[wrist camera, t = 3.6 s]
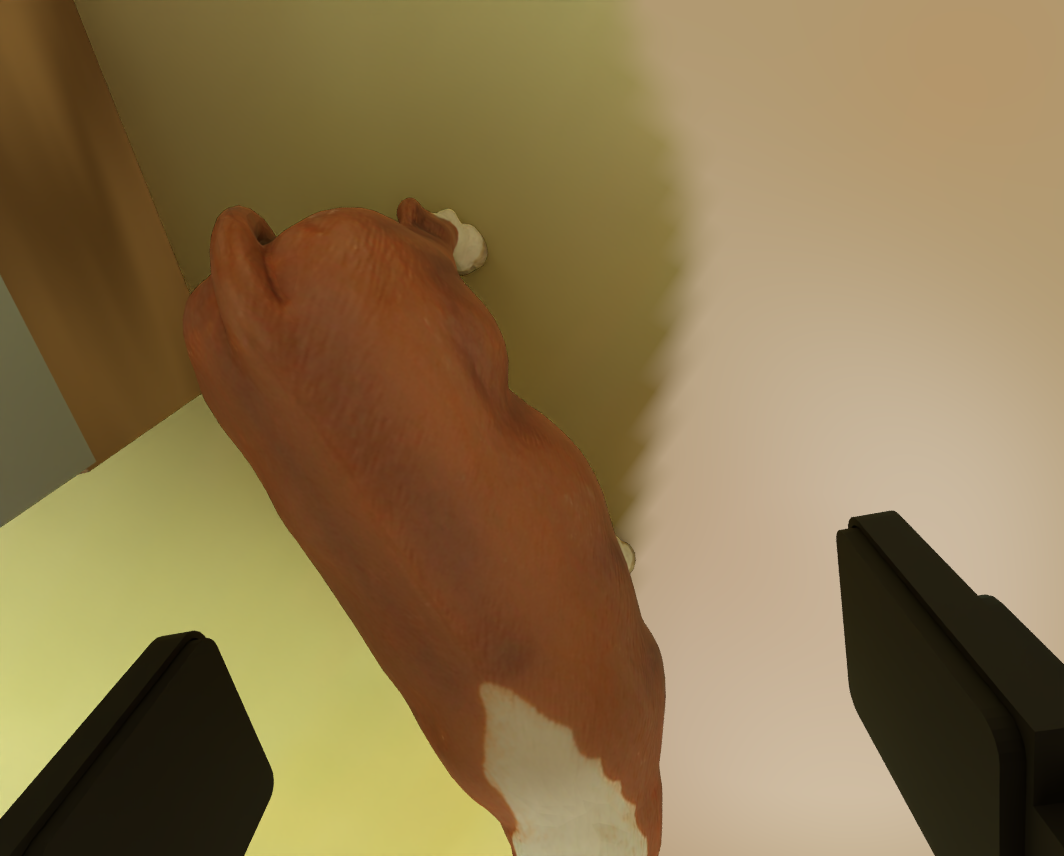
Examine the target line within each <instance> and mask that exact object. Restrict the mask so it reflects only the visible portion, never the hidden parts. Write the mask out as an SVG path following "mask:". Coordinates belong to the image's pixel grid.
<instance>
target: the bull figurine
mask: <svg viewBox="0 0 1064 856" xmlns="http://www.w3.org/2000/svg"><path fill="white" fill-rule="evenodd" d="M397 217H398V221H399V223H398V222H397V221H395V220H393V219H391V218H389V217H387V216H385V215H382V214H380V213H378V212H376V211H373V210H369V209H364V208H335V209H330V210H325V211H320V212H317V213H315V214H312V215H310V216H309V217H307V218H305V219H303V220H301V221H300V222H298V223H296V224H294V225H293V226H291V227H289V228H288V229H286V230H285V231H283V232H282V233H281V234H280V235H279V236H278V237H276V236H275V234H274V233H273V231H272V230H271V228H270V227H269V226H268V224H267V223H266V222H265V220H264V219H263V218H262V217H260V216H259V215H258V214H257V213H255V212H254V211H253V210H251V209H249V208H246V207H243V206H240V205H238V206H234V207H230V208H227V209H226V210H224V211H223V212H222V213H221V214H220V215H219V217H218V218H217V220H216V223H215V226H214V228H213V232H212V235H211V242H210V266H211V275H210V276H209V277H208V278H207V279H205V280H204V281H202V282H201V283H200V284H199V285H198V286H197V287H196V288H195V290H194V291H193V292H192V293H191V295H190V296H189V298H188V300H187V302H186V306H185V310H184V315H183V319H182V320H183V336H184V340H185V344H186V348H187V352H188V356H189V358H190V361H191V364H192V366H193V369H194V371H195V374H196V378H197V381H198V384H199V387H200V390H201V393H202V395H203V398H204V400H205V402H206V403H207V405H208V406H209V408H210V410H211V411H212V413H213V414H214V416H215V418H216V419H217V421H218V422H219V424H220V426H221V427H222V428H223V430H224V431H225V432H226V434H227V435H228V436H229V438H230V439H231V440H232V441H233V443H234V444H235V445H236V446H237V447H238V449H239V450H240V451H241V452H242V454H243V455H244V457H245V458H246V459H247V461H248V462H249V463H250V465H251V466H252V468H253V470H254V471H255V473H256V475H257V476H258V478H259V480H260V481H261V483H262V484H263V486H264V488H265V489H266V491H267V493H268V495H269V497H270V499H271V501H272V503H273V505H274V507H275V509H276V511H277V513H278V515H279V516H280V518H281V520H282V521H283V523H284V524H285V526H286V527H287V529H288V530H289V532H290V533H291V534H292V535H293V537H294V538H295V539H296V540H297V542H298V543H299V545H300V546H301V548H302V549H303V551H304V552H305V553H306V555H307V556H308V558H309V559H310V560H311V562H312V563H313V565H314V566H315V567H316V569H317V570H318V572H319V573H320V574H321V576H322V577H323V579H324V580H325V582H326V583H327V585H328V586H329V588H330V589H331V591H332V592H333V594H334V595H335V597H336V598H337V600H338V601H339V603H340V604H341V606H342V607H343V609H344V610H345V612H346V613H347V615H348V616H349V618H350V619H351V621H352V622H353V624H354V625H355V627H356V628H357V630H358V632H359V633H360V635H361V636H362V638H363V640H364V641H365V643H366V644H367V646H368V647H369V649H370V651H371V652H372V654H373V655H374V657H375V659H376V660H377V662H378V663H379V665H380V666H381V668H382V669H383V671H384V672H385V673H386V675H387V676H388V677H389V679H390V680H391V681H392V682H393V684H394V685H395V686H396V688H397V689H398V690H399V691H400V693H401V694H402V696H403V697H404V699H405V701H406V702H407V704H408V705H409V707H410V709H411V711H412V713H413V715H414V717H415V719H416V720H417V722H418V724H419V726H420V728H421V730H422V731H423V733H424V735H425V736H426V738H427V740H428V741H429V743H430V745H431V746H432V748H433V750H434V751H435V753H436V754H437V756H438V757H439V759H440V760H441V762H442V763H443V765H444V766H445V768H446V769H447V771H448V772H449V774H450V775H451V777H452V778H453V779H454V780H455V781H456V782H457V783H458V785H459V786H460V787H461V788H462V789H463V790H464V791H465V792H466V793H467V794H468V795H469V796H470V797H471V798H472V799H473V800H475V801H476V802H477V803H478V804H480V805H481V806H483V807H484V808H485V809H487V810H488V811H489V812H490V813H491V814H492V815H494V816H495V817H496V818H497V819H498V821H499V822H500V823H501V825H502V828H503V830H504V832H505V834H506V837H507V839H508V841H509V843H510V845H511V848H512V854H513V856H658V854H659V851H660V847H661V836H662V783H661V777H660V769H659V761H660V753H661V744H662V733H663V721H664V711H665V698H666V694H665V693H666V692H665V674H664V668H663V661H662V656H661V653H660V650H659V647H658V645H657V643H656V641H655V639H654V637H653V635H652V633H651V632H650V631H649V629H648V627H647V626H646V624H645V623H644V621H643V619H642V617H641V613H640V609H639V605H638V602H637V598H636V594H635V590H634V586H633V583H632V579H631V576H630V573H631V572H632V571H633V569H634V565H635V561H636V559H635V552H634V550H633V549H632V547H631V546H630V545H629V544H628V543H626V542H622V541H620V539H619V538H618V537H617V536H616V535H615V533H614V529H613V526H612V523H611V519H610V516H609V512H608V509H607V505H606V502H605V498H604V494H603V492H602V490H601V488H600V485H599V483H598V481H597V478H596V476H595V474H594V473H593V471H592V469H591V467H590V465H589V464H588V462H587V460H586V459H585V457H584V456H583V454H582V453H581V451H580V450H579V449H578V448H577V447H576V445H575V444H574V443H573V442H572V441H571V440H570V439H569V438H568V437H567V436H566V435H565V434H564V433H563V432H562V431H561V430H560V429H559V428H558V427H557V426H556V425H555V424H553V423H552V422H551V421H550V420H549V419H548V418H547V417H545V416H544V415H543V414H541V413H540V412H538V411H537V410H535V409H534V408H532V407H531V406H529V405H528V404H527V403H525V402H524V401H523V400H522V399H520V398H519V397H518V396H517V395H515V394H514V393H513V392H512V391H510V389H509V387H508V355H507V350H506V345H505V342H504V339H503V337H502V334H501V332H500V330H499V328H498V325H497V323H496V321H495V319H494V318H493V316H492V315H491V313H490V312H489V311H488V309H487V308H486V307H485V305H484V304H483V303H482V302H481V301H480V300H479V299H478V298H477V296H476V295H475V294H474V293H473V292H472V291H471V290H470V289H469V288H468V287H467V286H466V284H465V283H464V282H463V280H462V279H461V277H460V276H459V274H461V275H465V274H469V273H471V272H472V271H474V270H475V269H478V268H480V267H481V266H482V265H484V263H485V261H486V258H487V252H488V251H487V246H486V243H485V241H484V238H483V237H482V235H481V234H480V233H479V231H478V230H477V229H476V228H475V227H474V226H472V225H470V224H461V222H460V221H459V219H458V217H457V215H456V213H455V212H454V211H453V210H451V209H449V208H447V209H444V210H441V211H439V212H438V213H430V212H429V211H427V210H425V209H424V208H423V207H422V206H421V205H420V204H419V202H418V201H416V200H415V199H414V198H407V199H404V200H402V201H401V203H400V204H399V206H398V209H397Z"/></svg>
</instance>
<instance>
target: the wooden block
mask: <svg viewBox="0 0 1064 856" xmlns="http://www.w3.org/2000/svg"><path fill="white" fill-rule="evenodd" d="M0 275H1V277H2V279H3V281H4V283H5V285H6V287H7V289H8V291H9V293H10V295H11V297H12V299H13V300H14V302H15V304H16V306H17V308H18V310H19V312H20V314H21V316H22V318H23V320H24V322H25V324H26V326H27V328H28V330H29V332H30V334H31V335H32V337H33V339H34V341H35V343H36V345H37V347H38V349H39V351H40V353H41V355H42V357H43V359H44V361H45V363H46V365H47V367H48V369H49V370H50V372H51V374H52V376H53V378H54V380H55V382H56V384H57V386H58V388H59V390H60V392H61V394H62V396H63V398H64V400H65V402H66V404H67V405H68V407H69V409H70V411H71V413H72V415H73V417H74V419H75V421H76V423H77V425H78V427H79V429H80V431H81V433H82V435H83V437H84V439H85V440H86V442H87V444H88V446H89V448H90V450H91V452H92V454H93V456H94V458H95V460H96V462H95V463H94V464H92V465H91V466H89V467H88V468H87V469H85V470H84V471H82V472H81V473H79V474H82V473H86V472H89V471H91V470H92V469H94V468H95V467H97V466H98V465H99V464H101V463H102V462H104V461H105V460H107V459H108V458H110V457H111V456H112V455H114V454H115V453H117V452H118V451H120V450H121V449H122V448H124V447H125V446H127V445H128V444H130V443H131V442H133V441H134V440H135V439H137V438H138V437H140V436H141V435H143V434H144V433H145V432H147V431H148V430H150V429H151V428H153V427H154V426H155V425H157V424H158V423H160V422H161V421H163V420H164V419H166V418H167V417H168V416H170V415H171V414H173V413H174V412H176V411H177V410H178V409H180V408H181V407H183V406H184V405H186V404H187V403H189V402H190V401H191V400H193V399H194V398H196V397H197V396H199V395H200V394H201V390H200V387H199V384H198V381H197V378H196V374H195V371H194V369H193V366H192V364H191V361H190V358H189V356H188V352H187V348H186V344H185V340H184V336H183V320H182V319H183V315H184V310H185V306H186V302H187V300H188V298H189V296H190V293H189V291H188V288H187V286H186V283H185V281H184V278H183V276H182V273H181V271H180V268H179V266H178V263H177V261H176V258H175V256H174V253H173V250H172V248H171V245H170V243H169V240H168V238H167V235H166V233H165V230H164V228H163V225H162V223H161V220H160V218H159V215H158V213H157V210H156V208H155V205H154V203H153V200H152V198H151V195H150V193H149V190H148V187H147V185H146V182H145V180H144V177H143V175H142V172H141V170H140V167H139V165H138V162H137V160H136V157H135V155H134V152H133V150H132V147H131V145H130V142H129V140H128V137H127V135H126V132H125V130H124V127H123V124H122V122H121V119H120V117H119V114H118V112H117V109H116V107H115V104H114V102H113V99H112V97H111V94H110V92H109V89H108V87H107V84H106V82H105V79H104V77H103V74H102V72H101V69H100V67H99V64H98V61H97V59H96V56H95V54H94V51H93V49H92V46H91V44H90V41H89V39H88V36H87V34H86V31H85V29H84V26H83V24H82V21H81V19H80V16H79V14H78V11H77V9H76V6H75V4H74V1H73V0H0Z"/></svg>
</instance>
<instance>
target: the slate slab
mask: <svg viewBox="0 0 1064 856" xmlns="http://www.w3.org/2000/svg"><path fill="white" fill-rule="evenodd" d="M95 462H96V460H95V458H94V456H93V454H92V452H91V450H90V448H89V446H88V444H87V442H86V440H85V439H84V437H83V435H82V433H81V431H80V429H79V427H78V425H77V423H76V421H75V419H74V417H73V415H72V413H71V411H70V409H69V407H68V405H67V404H66V402H65V400H64V398H63V396H62V394H61V392H60V390H59V388H58V386H57V384H56V382H55V380H54V378H53V376H52V374H51V372H50V370H49V369H48V367H47V365H46V363H45V361H44V359H43V357H42V355H41V353H40V351H39V349H38V347H37V345H36V343H35V341H34V339H33V337H32V335H31V334H30V332H29V330H28V328H27V326H26V324H25V322H24V320H23V318H22V316H21V314H20V312H19V310H18V308H17V306H16V304H15V302H14V300H13V299H12V297H11V295H10V293H9V291H8V289H7V287H6V285H5V283H4V281H3V279H2V277H1V275H0V528H1V527H2V526H3V525H5V524H6V523H8V522H9V521H11V520H12V519H14V518H15V517H17V516H18V515H19V514H21V513H22V512H24V511H25V510H27V509H28V508H30V507H31V506H33V505H34V504H35V503H37V502H38V501H40V500H41V499H43V498H44V497H46V496H47V495H49V494H50V493H52V492H53V491H54V490H56V489H57V488H59V487H60V486H62V485H63V484H65V483H66V482H68V481H69V480H70V479H72V478H73V477H75V476H76V475H78V474H79V473H81V472H82V471H84V470H85V469H87V468H88V467H89V466H91V465H92V464H94V463H95Z"/></svg>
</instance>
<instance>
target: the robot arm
mask: <svg viewBox="0 0 1064 856" xmlns="http://www.w3.org/2000/svg"><path fill="white" fill-rule="evenodd" d="M836 539H837V540H836V542H837V552H838V565H839V576H840V588H841V599H842V611H843V623H844V634H845V645H846V658H847V669H848V681H849V688H850V693H851V697H852V700H853V703H854V706H855V709H856V711H857V713H858V715H859V717H860V719H861V720H862V722H863V724H864V726H865V728H866V730H867V731H868V733H869V735H870V737H871V739H872V741H873V743H874V744H875V746H876V748H877V750H878V752H879V753H880V755H881V757H882V759H883V761H884V762H885V765H886V767H887V768H888V770H889V772H890V774H891V776H892V778H893V779H894V781H895V783H896V785H897V787H898V789H899V790H900V792H901V794H902V796H903V798H904V800H905V802H906V803H907V805H908V807H909V809H910V811H911V812H912V814H913V816H914V818H915V820H916V822H917V824H918V825H919V827H920V829H921V831H922V833H923V834H924V837H925V838H926V840H927V842H928V844H929V846H930V847H931V849H932V851H933V853H934V855H935V856H1064V664H1063V663H1062V662H1061V661H1060V660H1059V659H1058V658H1057V657H1056V656H1055V655H1054V654H1053V653H1052V652H1051V651H1050V650H1049V649H1048V648H1047V647H1046V646H1045V645H1044V644H1043V643H1042V642H1041V641H1040V640H1039V639H1038V638H1037V637H1036V636H1035V635H1034V634H1033V633H1032V632H1031V631H1030V630H1029V629H1028V628H1027V627H1026V626H1025V625H1024V624H1023V623H1022V622H1020V620H1019V619H1018V618H1017V617H1016V616H1015V615H1014V614H1013V613H1012V612H1011V611H1010V610H1009V609H1007V607H1006V606H1005V605H1003V604H1002V603H1001V602H1000V601H999V600H997V599H996V598H995V597H993V596H989V595H979V596H978V595H977V594H976V593H975V592H974V591H973V590H972V589H971V588H970V587H969V586H968V585H967V584H966V583H965V582H964V581H963V580H962V579H961V578H960V577H959V576H958V575H957V574H956V573H955V572H954V570H952V569H951V567H950V566H949V565H948V564H947V563H946V562H945V561H944V560H943V559H942V558H941V557H940V556H939V555H938V554H937V553H936V552H935V551H934V550H933V549H932V548H931V547H930V546H929V545H928V544H927V543H926V542H925V541H924V540H923V539H922V538H921V537H920V535H919V534H917V533H916V531H915V530H914V529H913V528H912V527H911V526H910V525H909V524H908V523H907V522H906V521H905V520H904V519H903V518H902V517H901V516H900V515H899V514H898V513H897V512H895V511H886V512H881V513H875V514H869V515H863V516H857V517H851V519H850V520H849V524H848V529H844V530H839V531H838V532H837V536H836ZM273 785H274V778H273V772H272V769H271V766H270V764H269V762H268V760H267V757H266V755H265V753H264V751H263V748H262V746H261V744H260V742H259V739H258V737H257V735H256V733H255V730H254V728H253V726H252V724H251V721H250V719H249V717H248V714H247V712H246V710H245V708H244V705H243V703H242V701H241V699H240V696H239V694H238V692H237V690H236V687H235V685H234V683H233V681H232V678H231V676H230V674H229V672H228V669H227V667H226V665H225V663H224V660H223V658H222V656H221V654H220V651H219V649H218V647H217V645H216V643H215V642H214V641H213V640H212V639H209V638H205V636H204V635H203V634H202V633H200V632H198V631H189V632H184V633H178V634H172V635H166V636H161V637H158V638H156V639H155V640H154V641H153V642H152V643H151V644H150V645H149V646H148V647H147V648H146V650H145V651H144V652H143V653H142V654H141V655H140V657H139V658H138V659H137V660H136V661H135V662H134V664H133V665H132V666H131V667H130V668H129V669H128V671H127V672H126V673H125V674H124V675H123V676H122V678H121V679H120V680H119V681H118V682H117V683H116V685H115V686H114V687H113V688H112V689H111V690H110V692H109V693H108V694H107V695H106V696H105V697H104V699H103V700H102V701H101V702H100V703H99V704H98V706H97V707H96V708H95V709H94V710H93V711H92V713H91V714H90V715H89V716H88V717H87V718H86V720H85V721H84V722H83V723H82V724H81V725H80V727H79V728H78V729H77V730H76V731H75V732H74V734H73V735H72V736H71V737H70V738H69V739H68V741H67V742H66V743H65V744H64V745H63V746H62V748H61V749H60V750H59V751H58V752H57V753H56V755H55V756H54V757H53V758H52V759H51V760H50V762H49V763H48V764H47V765H46V766H45V767H44V769H43V770H42V771H41V772H40V773H39V774H38V776H37V777H36V778H35V779H34V780H33V781H32V783H31V784H30V785H29V786H28V787H27V788H26V790H25V791H24V792H23V793H22V794H21V795H20V797H19V798H18V799H17V800H16V801H15V802H14V804H13V805H12V806H11V807H10V808H9V809H8V811H7V812H6V813H5V814H4V815H3V816H2V818H1V819H0V856H244V855H245V853H246V850H247V848H248V846H249V844H250V842H251V839H252V837H253V835H254V833H255V831H256V829H257V826H258V824H259V822H260V820H261V818H262V816H263V813H264V811H265V809H266V807H267V805H268V802H269V800H270V798H271V795H272V792H273Z"/></svg>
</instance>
